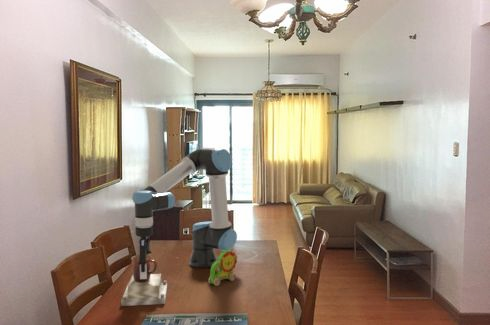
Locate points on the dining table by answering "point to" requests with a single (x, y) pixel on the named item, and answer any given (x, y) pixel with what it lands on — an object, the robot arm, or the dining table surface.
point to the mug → (137, 268)
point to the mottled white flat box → (145, 292)
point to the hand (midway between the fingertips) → (145, 273)
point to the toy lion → (223, 267)
